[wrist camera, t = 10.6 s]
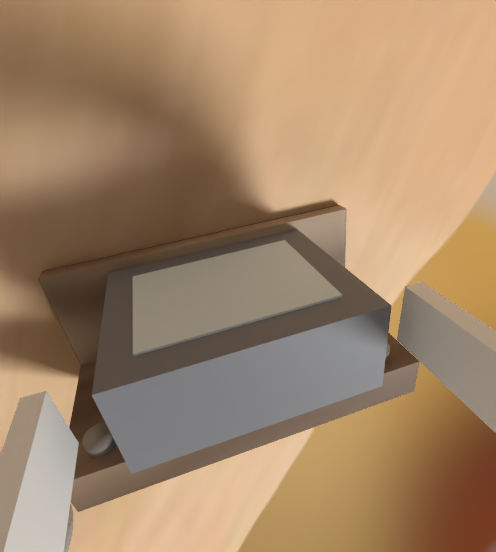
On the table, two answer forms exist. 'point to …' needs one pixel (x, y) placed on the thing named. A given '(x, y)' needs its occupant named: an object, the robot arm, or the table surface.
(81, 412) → the wall rail
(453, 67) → the table surface
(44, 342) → the table surface
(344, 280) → the grey box
